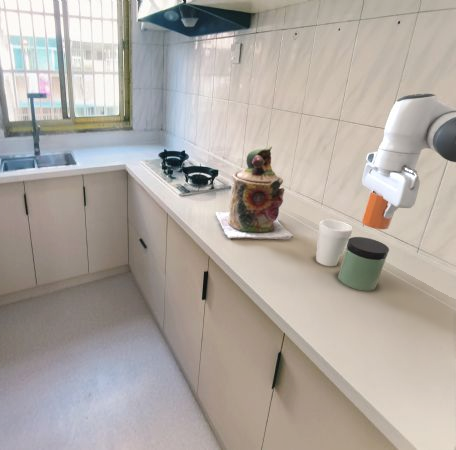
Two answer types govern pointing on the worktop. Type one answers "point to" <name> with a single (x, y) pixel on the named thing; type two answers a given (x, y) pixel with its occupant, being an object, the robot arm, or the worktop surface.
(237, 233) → the cookie jar
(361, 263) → the jar
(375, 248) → the jar lid
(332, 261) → the foam cup
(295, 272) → the worktop surface
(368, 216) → the cup
